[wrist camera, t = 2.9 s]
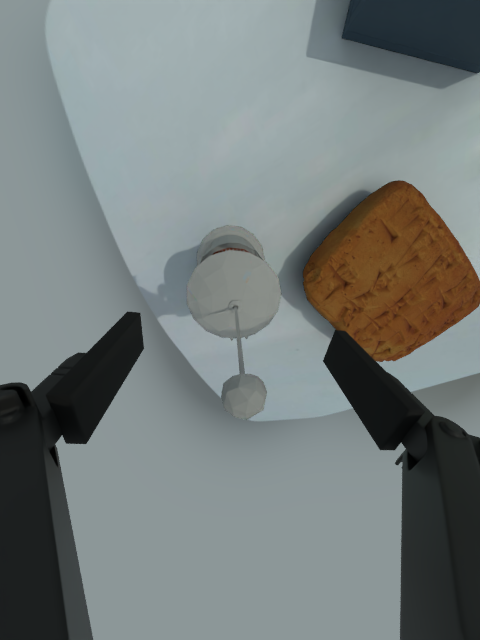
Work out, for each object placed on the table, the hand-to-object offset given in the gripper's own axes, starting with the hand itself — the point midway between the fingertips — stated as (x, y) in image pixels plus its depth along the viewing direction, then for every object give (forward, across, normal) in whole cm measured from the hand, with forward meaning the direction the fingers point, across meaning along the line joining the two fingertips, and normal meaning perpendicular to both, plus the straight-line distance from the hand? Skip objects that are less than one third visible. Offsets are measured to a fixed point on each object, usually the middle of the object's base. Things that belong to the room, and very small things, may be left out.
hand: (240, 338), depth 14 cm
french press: (+19, 0, 0) cm, 19 cm away
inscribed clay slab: (+19, +21, +1) cm, 28 cm away
